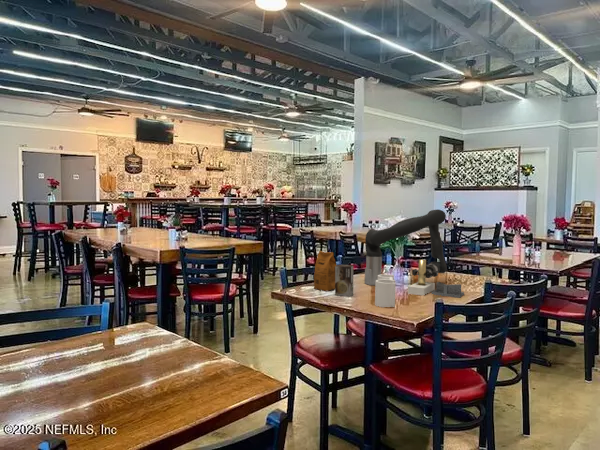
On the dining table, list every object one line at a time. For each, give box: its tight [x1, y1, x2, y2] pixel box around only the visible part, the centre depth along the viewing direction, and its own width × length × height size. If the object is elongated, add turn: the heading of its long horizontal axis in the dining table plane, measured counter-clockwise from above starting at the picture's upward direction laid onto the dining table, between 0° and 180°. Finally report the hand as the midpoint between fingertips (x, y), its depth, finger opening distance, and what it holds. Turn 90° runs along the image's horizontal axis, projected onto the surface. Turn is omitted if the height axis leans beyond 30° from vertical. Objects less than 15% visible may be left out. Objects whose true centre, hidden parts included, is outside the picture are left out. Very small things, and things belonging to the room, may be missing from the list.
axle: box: [417, 259, 427, 286], centre depth 259 cm, size 4×4×18 cm
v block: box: [431, 281, 465, 299], centre depth 252 cm, size 10×15×6 cm, turn 57°
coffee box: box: [334, 264, 354, 297], centre depth 248 cm, size 9×6×16 cm
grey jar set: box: [374, 273, 397, 308], centre depth 233 cm, size 25×10×12 cm, turn 169°
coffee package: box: [313, 250, 338, 292], centre depth 262 cm, size 10×12×22 cm
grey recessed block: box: [407, 281, 436, 296], centre depth 259 cm, size 20×9×4 cm, turn 147°
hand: (420, 274), depth 257 cm, fingers open, 7 cm apart
